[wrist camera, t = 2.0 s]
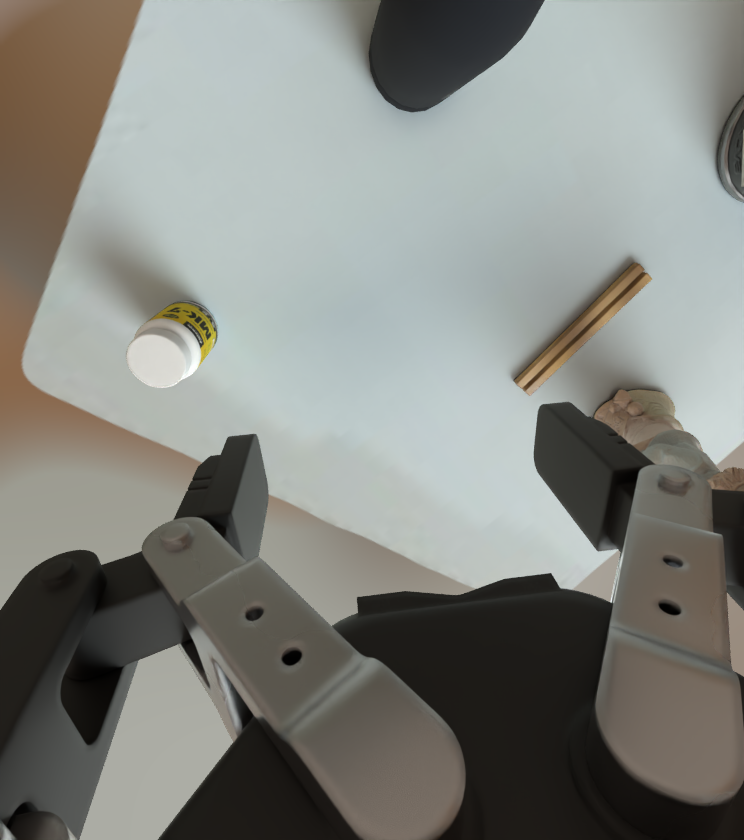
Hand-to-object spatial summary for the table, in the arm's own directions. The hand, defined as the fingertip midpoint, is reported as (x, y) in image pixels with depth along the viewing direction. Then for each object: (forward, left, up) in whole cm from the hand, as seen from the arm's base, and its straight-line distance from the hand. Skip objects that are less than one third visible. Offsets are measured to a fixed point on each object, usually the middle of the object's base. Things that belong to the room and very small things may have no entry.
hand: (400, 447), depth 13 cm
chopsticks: (-19, +7, -28) cm, 35 cm away
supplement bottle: (+15, +3, -28) cm, 32 cm away
